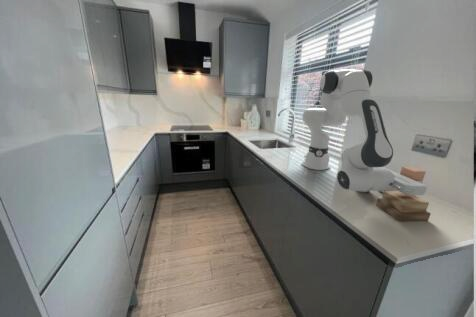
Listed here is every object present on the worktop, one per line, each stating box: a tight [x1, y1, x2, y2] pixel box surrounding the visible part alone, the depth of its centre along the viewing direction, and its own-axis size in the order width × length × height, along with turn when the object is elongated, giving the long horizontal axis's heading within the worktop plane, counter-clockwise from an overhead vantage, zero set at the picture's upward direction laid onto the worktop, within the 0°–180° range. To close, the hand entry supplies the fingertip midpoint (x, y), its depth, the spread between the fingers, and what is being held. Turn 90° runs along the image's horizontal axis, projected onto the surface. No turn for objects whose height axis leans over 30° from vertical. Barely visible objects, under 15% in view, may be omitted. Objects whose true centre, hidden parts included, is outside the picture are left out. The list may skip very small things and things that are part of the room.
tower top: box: [381, 191, 430, 212], centre depth 79 cm, size 10×10×4 cm
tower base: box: [375, 197, 432, 223], centre depth 81 cm, size 12×12×4 cm
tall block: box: [395, 166, 427, 195], centre depth 77 cm, size 5×5×10 cm
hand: (412, 179), depth 77 cm, fingers open, 5 cm apart
